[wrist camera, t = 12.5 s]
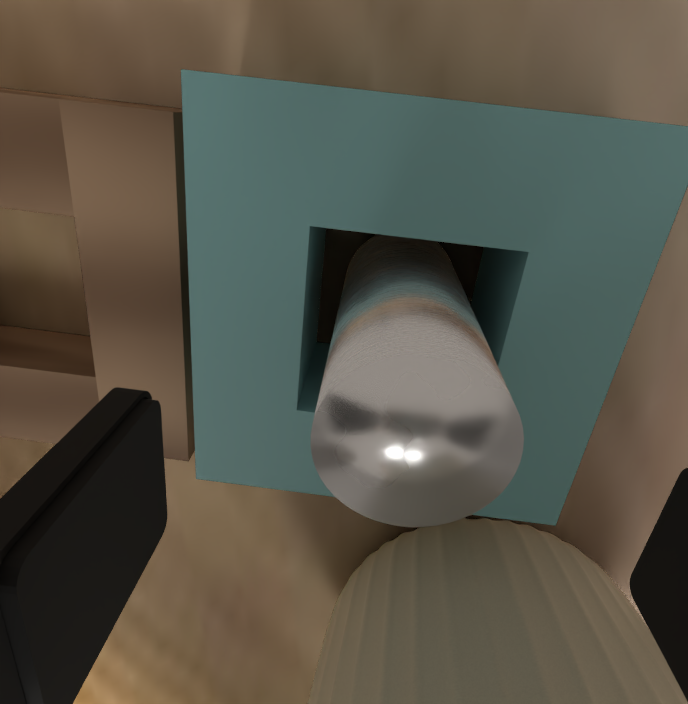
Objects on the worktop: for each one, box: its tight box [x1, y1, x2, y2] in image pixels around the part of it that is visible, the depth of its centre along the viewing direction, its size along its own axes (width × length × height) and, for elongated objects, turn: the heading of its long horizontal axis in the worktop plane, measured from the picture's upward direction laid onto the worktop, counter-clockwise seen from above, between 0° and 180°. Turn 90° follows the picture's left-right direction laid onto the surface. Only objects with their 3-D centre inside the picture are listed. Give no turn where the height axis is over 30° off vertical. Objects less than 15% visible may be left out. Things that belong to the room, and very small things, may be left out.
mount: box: [0, 88, 195, 461], centre depth 18 cm, size 12×12×3 cm
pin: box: [311, 234, 524, 527], centre depth 14 cm, size 4×4×10 cm
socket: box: [181, 69, 688, 526], centre depth 16 cm, size 12×12×5 cm
